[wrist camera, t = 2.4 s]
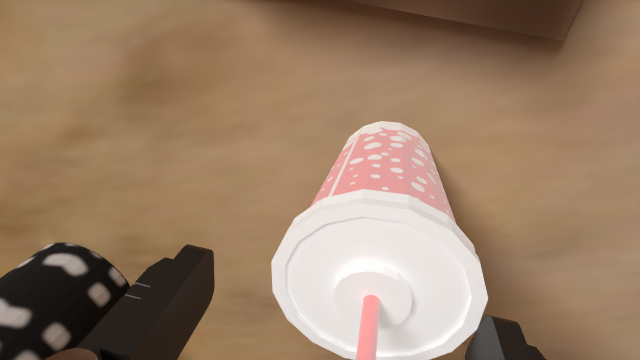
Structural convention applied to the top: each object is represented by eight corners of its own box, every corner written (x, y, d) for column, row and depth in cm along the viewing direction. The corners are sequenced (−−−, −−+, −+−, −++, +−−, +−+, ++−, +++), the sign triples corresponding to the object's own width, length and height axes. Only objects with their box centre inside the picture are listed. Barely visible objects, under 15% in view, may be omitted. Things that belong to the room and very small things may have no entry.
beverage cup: (361, 230, 20) (298, 593, 8) (304, 140, 18) (106, 432, 6) (468, 189, 18) (619, 626, 5) (415, 81, 16) (463, 373, 4)
